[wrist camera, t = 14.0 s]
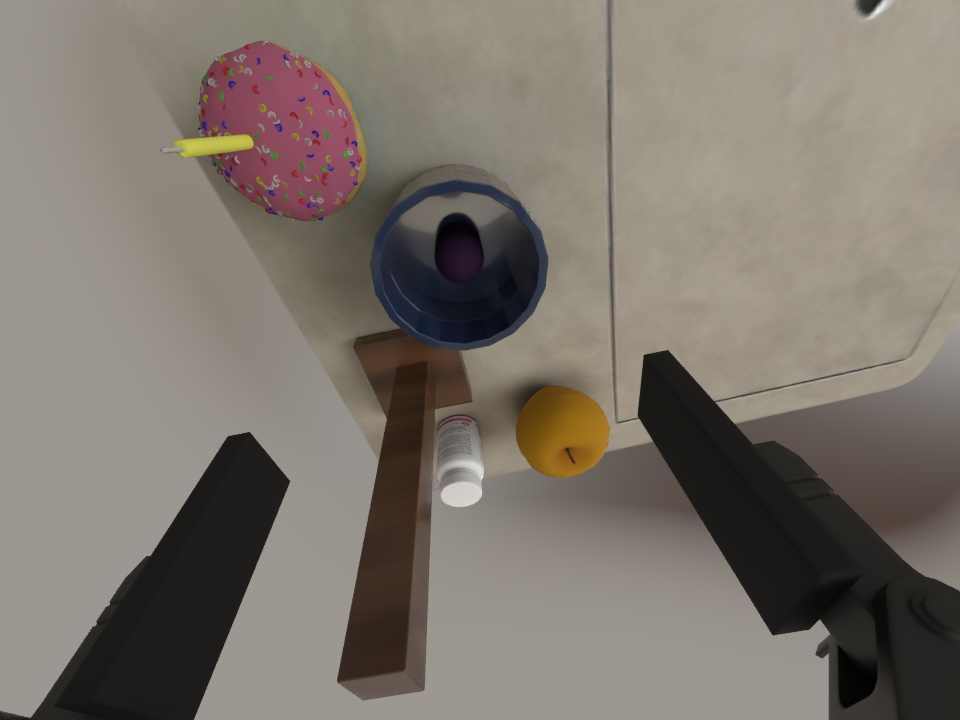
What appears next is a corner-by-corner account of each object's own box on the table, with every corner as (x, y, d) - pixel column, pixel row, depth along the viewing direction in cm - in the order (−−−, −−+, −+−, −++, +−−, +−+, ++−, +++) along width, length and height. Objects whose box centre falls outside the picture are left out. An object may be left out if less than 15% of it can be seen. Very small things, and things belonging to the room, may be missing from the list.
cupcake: (260, 199, 26) (148, 255, 16) (221, 44, 21) (29, -9, 11) (382, 207, 27) (345, 265, 17) (372, 60, 22) (312, 24, 12)
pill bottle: (428, 432, 41) (425, 498, 34) (456, 407, 39) (458, 472, 32) (461, 449, 43) (463, 515, 36) (488, 427, 41) (496, 491, 34)
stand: (356, 337, 33) (225, 672, 14) (452, 318, 33) (460, 633, 13) (388, 408, 38) (327, 724, 19) (471, 392, 38) (498, 698, 18)
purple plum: (427, 233, 28) (424, 253, 24) (470, 213, 27) (474, 230, 23) (447, 274, 30) (447, 298, 26) (487, 256, 29) (493, 278, 25)
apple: (569, 433, 43) (594, 501, 35) (497, 422, 41) (508, 491, 33) (604, 374, 38) (642, 438, 31) (524, 358, 36) (545, 423, 29)
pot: (363, 183, 26) (340, 204, 20) (519, 148, 25) (540, 160, 20) (409, 318, 32) (401, 363, 27) (534, 292, 32) (554, 333, 26)
